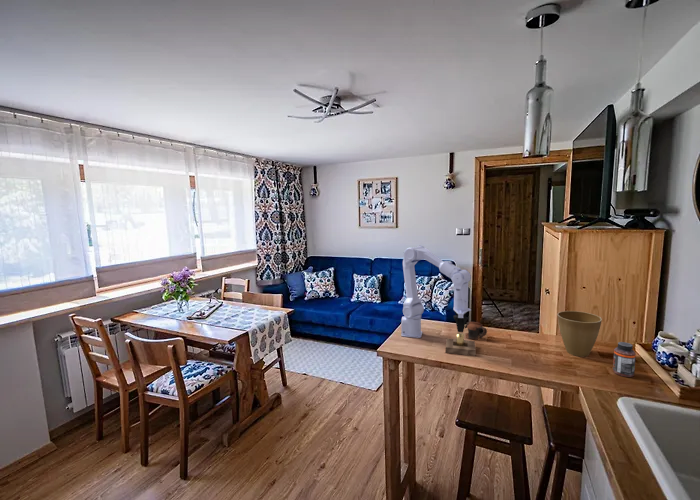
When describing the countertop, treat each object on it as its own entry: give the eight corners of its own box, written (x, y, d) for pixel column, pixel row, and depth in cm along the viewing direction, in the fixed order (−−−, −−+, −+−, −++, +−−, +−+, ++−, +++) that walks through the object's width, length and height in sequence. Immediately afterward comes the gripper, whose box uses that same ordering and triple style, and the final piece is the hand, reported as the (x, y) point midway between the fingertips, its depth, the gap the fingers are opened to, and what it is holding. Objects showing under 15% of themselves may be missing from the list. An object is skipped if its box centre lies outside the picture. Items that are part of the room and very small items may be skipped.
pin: (456, 350, 140) (456, 334, 139) (457, 347, 142) (457, 332, 142) (463, 351, 138) (463, 336, 138) (464, 348, 141) (464, 333, 140)
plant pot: (570, 343, 143) (572, 308, 142) (607, 356, 130) (610, 318, 128) (547, 349, 138) (549, 313, 136) (584, 364, 124) (586, 324, 122)
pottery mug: (459, 337, 155) (460, 320, 158) (471, 342, 159) (473, 325, 162) (480, 338, 145) (482, 320, 148) (493, 343, 149) (494, 326, 152)
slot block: (445, 352, 138) (445, 347, 137) (446, 343, 147) (446, 338, 147) (475, 356, 134) (475, 350, 133) (474, 346, 143) (474, 341, 143)
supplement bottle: (612, 368, 121) (614, 339, 119) (633, 372, 117) (635, 343, 116) (612, 374, 116) (614, 344, 115) (634, 379, 112) (636, 348, 111)
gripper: (471, 303, 130) (470, 336, 131) (470, 294, 143) (469, 324, 145) (453, 302, 132) (452, 334, 133) (453, 293, 145) (453, 322, 147)
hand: (460, 328), depth 139 cm, fingers open, 7 cm apart
